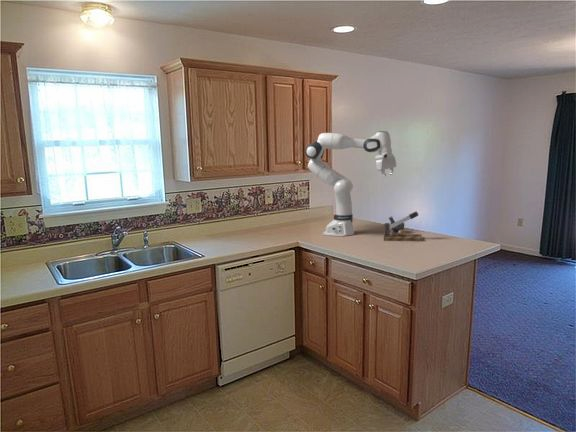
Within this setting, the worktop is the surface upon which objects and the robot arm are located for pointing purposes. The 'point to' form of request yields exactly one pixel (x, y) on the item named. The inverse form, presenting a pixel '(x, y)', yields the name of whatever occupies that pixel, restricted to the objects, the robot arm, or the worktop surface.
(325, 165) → the robot arm
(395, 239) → the base
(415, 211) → the lever
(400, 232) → the smooth brown ball
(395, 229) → the mortar and pestle
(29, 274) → the worktop surface
